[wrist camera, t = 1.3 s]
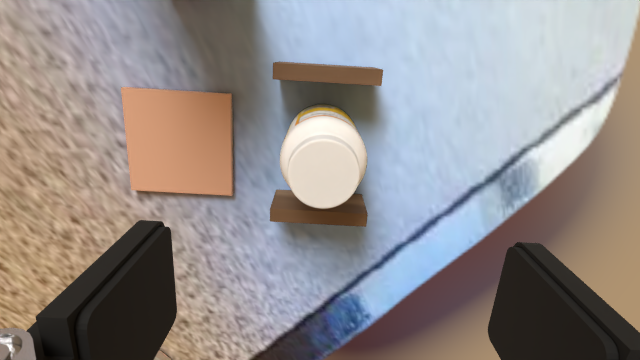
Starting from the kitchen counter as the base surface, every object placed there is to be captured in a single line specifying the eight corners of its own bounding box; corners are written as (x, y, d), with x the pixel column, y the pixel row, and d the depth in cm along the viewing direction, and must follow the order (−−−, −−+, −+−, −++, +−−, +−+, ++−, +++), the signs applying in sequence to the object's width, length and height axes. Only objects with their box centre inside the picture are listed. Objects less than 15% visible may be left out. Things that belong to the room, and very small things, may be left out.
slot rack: (360, 205, 31) (366, 226, 28) (275, 201, 31) (269, 221, 28) (374, 67, 28) (383, 69, 24) (279, 61, 28) (273, 62, 24)
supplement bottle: (326, 183, 31) (328, 239, 22) (273, 141, 30) (253, 180, 21) (371, 134, 30) (394, 170, 20) (318, 88, 29) (318, 104, 19)
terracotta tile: (233, 193, 31) (231, 195, 31) (135, 187, 31) (131, 190, 30) (232, 93, 29) (230, 94, 28) (125, 87, 28) (121, 87, 28)
